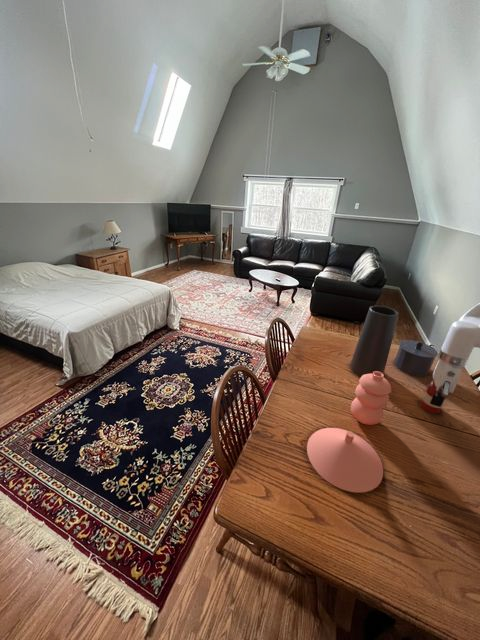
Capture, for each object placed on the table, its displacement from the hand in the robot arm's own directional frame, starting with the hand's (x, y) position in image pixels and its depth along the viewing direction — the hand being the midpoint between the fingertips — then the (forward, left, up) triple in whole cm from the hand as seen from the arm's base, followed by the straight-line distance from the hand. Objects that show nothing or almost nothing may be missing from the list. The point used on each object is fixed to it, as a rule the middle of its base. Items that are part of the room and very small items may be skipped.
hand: (433, 398), depth 97 cm
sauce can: (0, 0, -4) cm, 4 cm away
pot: (-2, -27, -4) cm, 27 cm away
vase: (+19, -18, -4) cm, 27 cm away
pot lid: (-2, -27, +5) cm, 28 cm away
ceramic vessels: (+31, +24, -4) cm, 39 cm away
